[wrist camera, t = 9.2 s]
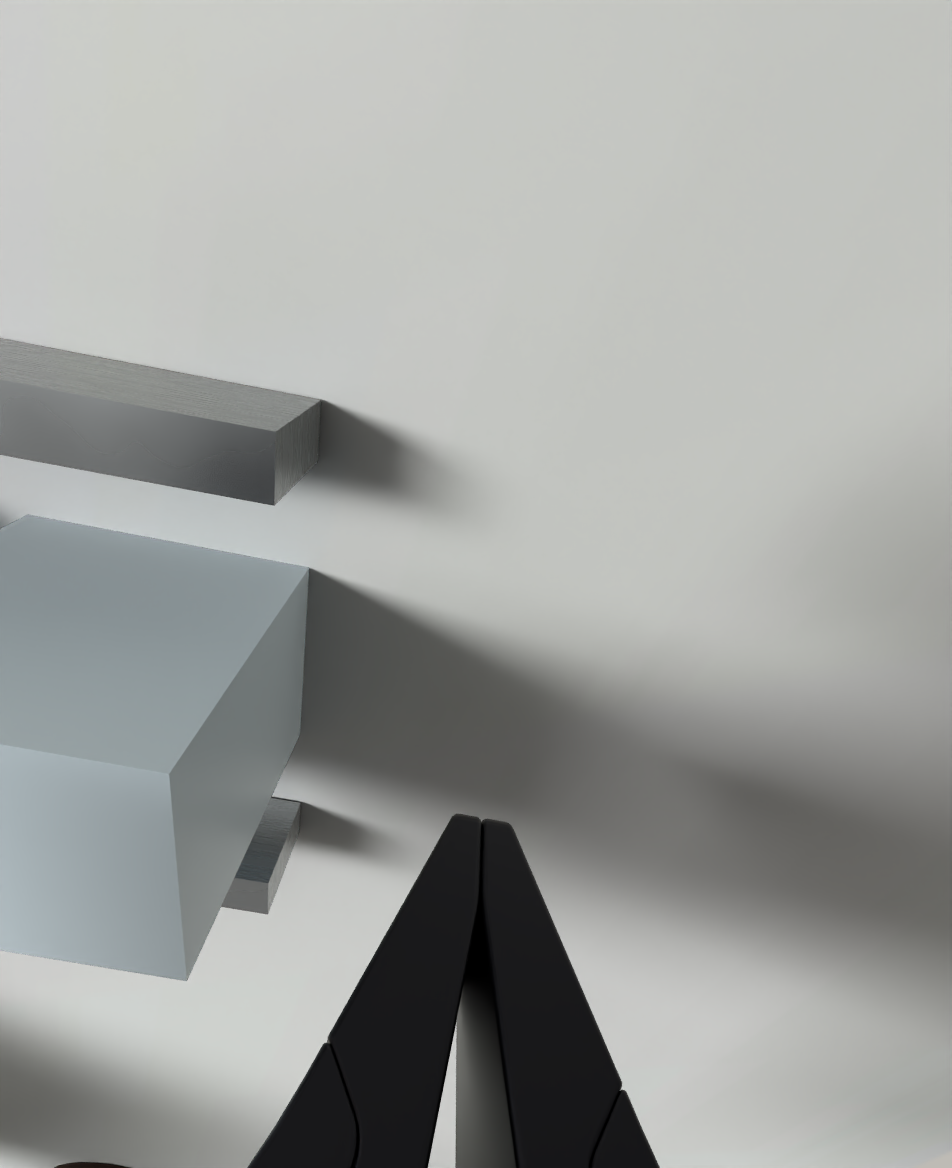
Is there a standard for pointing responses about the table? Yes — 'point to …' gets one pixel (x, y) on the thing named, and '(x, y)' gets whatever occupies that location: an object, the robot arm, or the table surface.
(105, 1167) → the coffee mug
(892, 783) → the table surface
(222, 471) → the channel
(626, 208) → the table surface
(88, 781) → the pale blue cuboid
